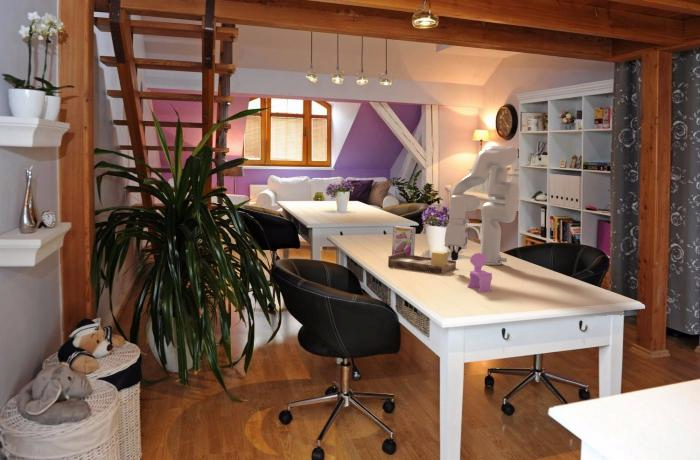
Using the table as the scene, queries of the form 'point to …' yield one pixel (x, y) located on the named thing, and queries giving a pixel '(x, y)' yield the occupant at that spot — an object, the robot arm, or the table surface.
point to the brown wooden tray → (418, 263)
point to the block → (439, 258)
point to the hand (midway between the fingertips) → (454, 260)
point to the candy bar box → (403, 240)
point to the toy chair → (480, 273)
